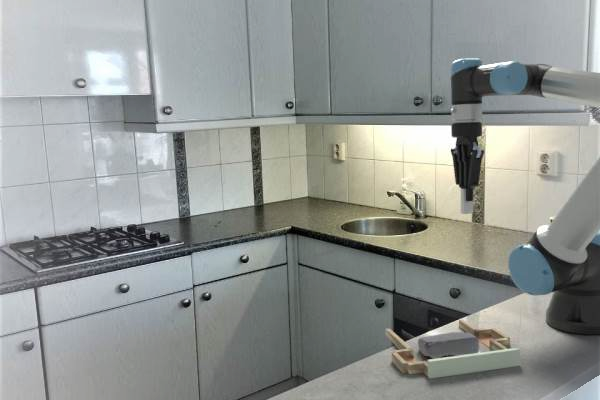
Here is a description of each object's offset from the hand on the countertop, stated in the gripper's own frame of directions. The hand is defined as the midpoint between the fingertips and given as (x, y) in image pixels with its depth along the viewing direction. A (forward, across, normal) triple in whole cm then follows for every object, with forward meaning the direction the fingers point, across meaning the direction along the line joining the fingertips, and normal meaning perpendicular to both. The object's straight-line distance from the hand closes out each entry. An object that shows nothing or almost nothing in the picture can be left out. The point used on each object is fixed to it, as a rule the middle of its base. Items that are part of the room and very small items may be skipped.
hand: (466, 213), depth 151 cm
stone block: (+24, +19, -17) cm, 35 cm away
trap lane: (+26, +22, -17) cm, 39 cm away
